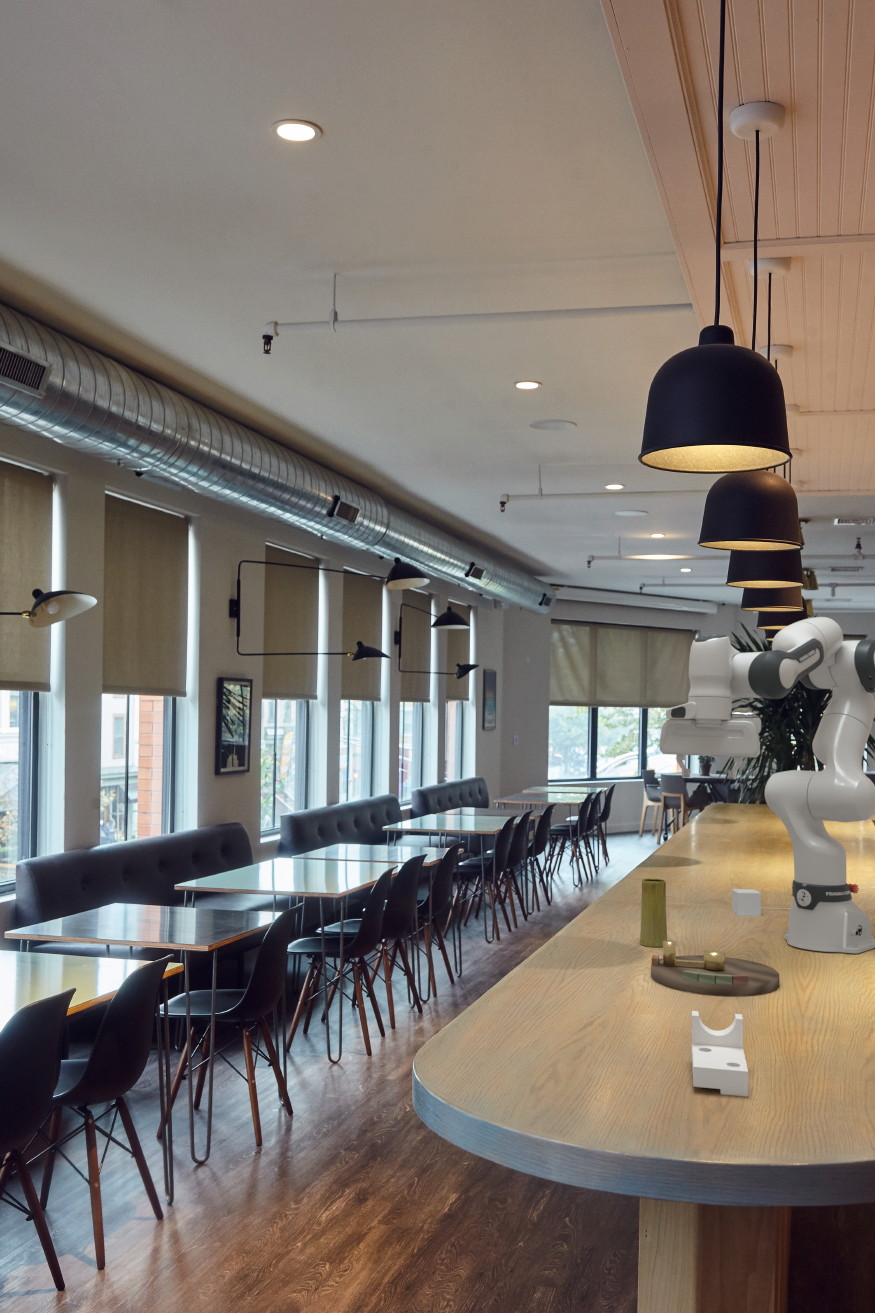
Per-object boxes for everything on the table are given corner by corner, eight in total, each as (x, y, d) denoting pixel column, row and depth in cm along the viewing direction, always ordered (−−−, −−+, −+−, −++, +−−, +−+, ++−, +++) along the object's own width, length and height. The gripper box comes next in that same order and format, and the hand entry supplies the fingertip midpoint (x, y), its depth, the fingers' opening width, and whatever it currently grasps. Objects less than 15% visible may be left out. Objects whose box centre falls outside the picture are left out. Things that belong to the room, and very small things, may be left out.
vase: (667, 948, 231) (667, 882, 231) (639, 946, 232) (639, 881, 233) (667, 942, 237) (667, 878, 237) (639, 941, 238) (639, 877, 239)
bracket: (691, 1063, 154) (691, 1010, 154) (741, 1067, 152) (741, 1014, 153) (693, 1094, 141) (693, 1036, 142) (748, 1099, 140) (748, 1041, 140)
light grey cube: (732, 912, 277) (732, 889, 277) (755, 912, 277) (754, 889, 277) (737, 916, 271) (737, 892, 271) (761, 916, 271) (761, 893, 271)
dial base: (709, 960, 219) (709, 943, 220) (806, 985, 200) (806, 966, 200) (625, 974, 206) (625, 956, 206) (720, 1002, 186) (720, 982, 186)
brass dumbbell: (725, 966, 204) (725, 943, 205) (724, 971, 201) (724, 947, 201) (661, 961, 208) (661, 938, 208) (659, 965, 204) (659, 942, 204)
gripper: (763, 713, 217) (762, 780, 216) (664, 711, 226) (663, 775, 225) (759, 712, 212) (758, 781, 211) (658, 710, 220) (657, 776, 219)
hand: (708, 778), depth 218 cm, fingers open, 8 cm apart
